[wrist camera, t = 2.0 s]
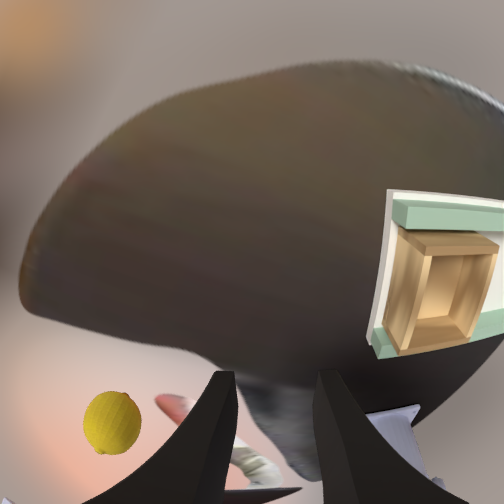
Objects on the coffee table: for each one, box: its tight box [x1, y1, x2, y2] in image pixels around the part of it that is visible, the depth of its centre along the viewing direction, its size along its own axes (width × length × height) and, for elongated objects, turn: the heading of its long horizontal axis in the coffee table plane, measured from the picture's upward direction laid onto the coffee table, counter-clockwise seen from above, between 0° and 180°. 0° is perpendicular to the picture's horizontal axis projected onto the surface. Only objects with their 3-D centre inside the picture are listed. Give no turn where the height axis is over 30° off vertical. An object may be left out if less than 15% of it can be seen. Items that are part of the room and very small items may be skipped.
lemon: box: [83, 391, 141, 455], centre depth 20 cm, size 6×6×8 cm
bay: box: [366, 189, 504, 359], centre depth 15 cm, size 11×16×3 cm
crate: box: [381, 226, 500, 356], centre depth 14 cm, size 7×6×4 cm
